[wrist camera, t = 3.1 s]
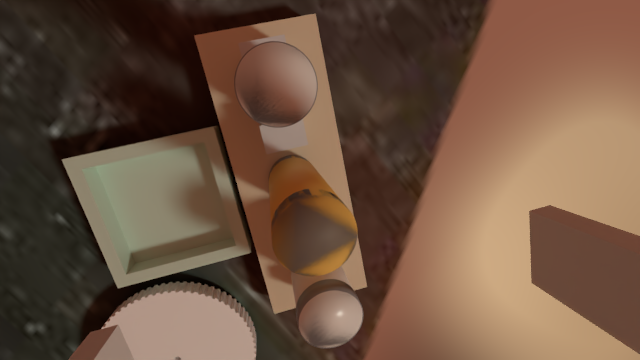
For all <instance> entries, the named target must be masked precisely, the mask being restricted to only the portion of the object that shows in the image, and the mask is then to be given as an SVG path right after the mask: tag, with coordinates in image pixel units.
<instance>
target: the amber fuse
mask: <svg viewBox="0 0 640 360" xmlns="http://www.w3.org/2000/svg"><path fill="white" fill-rule="evenodd" d="M269 198H270V218H271V238H272V247H273V251H274V253H275V255H276V257H277V259H278V260H279V262H280V263H281V264H282V265H283V266H284V267H285V268H287V269H288V270H290V271H291V272H293V273H296V274H299V275H302V276H320V275H325V274H327V273H330V272H332V271H334V270H336V269H337V268H339V267H340V266H341V265H343V264H344V263H345V262H346V261H347V259H348V258H349V257H350V255H351V254H352V252H353V250H354V248H355V245H356V241H357V225H356V221H355V219H354V216H353V215H352V213H351V211H350V210H349V209H348V208H347V207H346V205H345V204H344V203H343V202H342V200H341V199H340V198H339V197H338V196H337V194H336V193H335V192H334V191H333V190H332V188H331V187H330V186H329V185H328V183H327V182H326V181H325V180H324V179H323V177H322V176H321V175H320V174H319V172H318V171H317V170H316V169H315V168H314V166H313V165H312V164H311V163H310V162H309V161H308V160H307V159H305V158H303V157H301V156H297V155H289V156H285V157H283V158H281V159H279V160H278V161H276V162H275V163H274V165H273V166H272V168H271V170H270V172H269Z"/></svg>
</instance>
